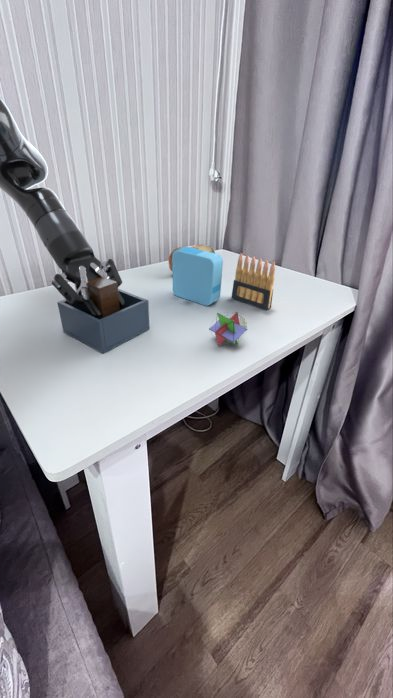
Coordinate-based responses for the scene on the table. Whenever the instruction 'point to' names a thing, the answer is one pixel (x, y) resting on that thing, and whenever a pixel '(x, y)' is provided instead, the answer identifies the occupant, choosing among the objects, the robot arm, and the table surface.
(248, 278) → the ammunition clip
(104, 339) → the bin
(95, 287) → the block
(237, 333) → the geometric puzzle
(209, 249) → the tin
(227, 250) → the table surface
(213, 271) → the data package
